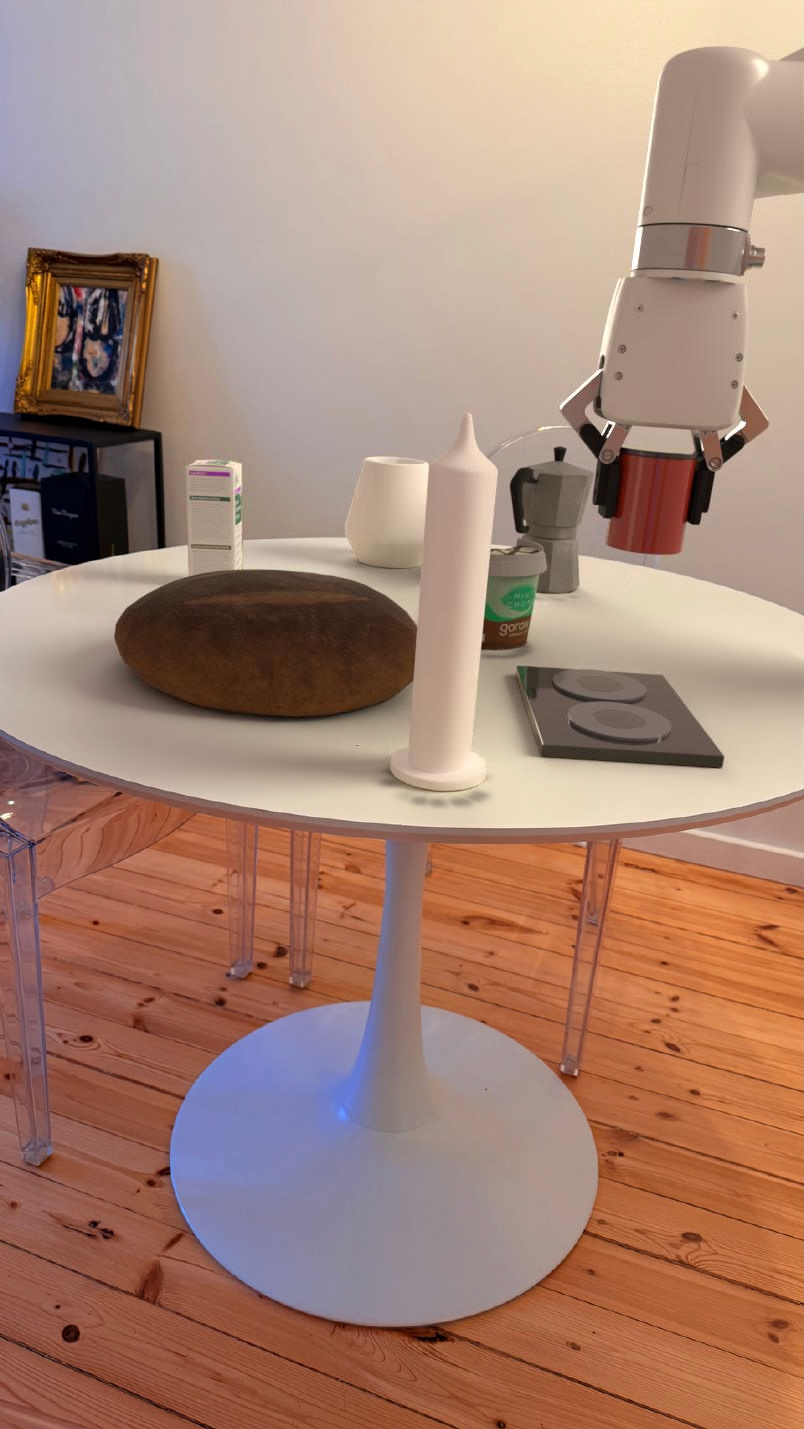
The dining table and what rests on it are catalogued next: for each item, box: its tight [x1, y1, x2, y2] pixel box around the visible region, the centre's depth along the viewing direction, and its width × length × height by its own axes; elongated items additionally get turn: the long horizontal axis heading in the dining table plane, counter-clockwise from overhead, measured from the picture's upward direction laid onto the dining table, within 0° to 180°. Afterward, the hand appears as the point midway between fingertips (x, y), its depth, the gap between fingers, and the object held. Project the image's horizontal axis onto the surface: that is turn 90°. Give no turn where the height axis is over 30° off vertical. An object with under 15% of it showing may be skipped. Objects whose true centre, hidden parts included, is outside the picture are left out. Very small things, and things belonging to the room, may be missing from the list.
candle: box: [389, 412, 499, 792], centre depth 67 cm, size 7×7×25 cm
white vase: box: [344, 456, 430, 569], centre depth 138 cm, size 13×13×14 cm
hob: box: [515, 665, 725, 769], centre depth 85 cm, size 14×20×1 cm
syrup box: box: [185, 459, 244, 577], centre depth 119 cm, size 6×6×14 cm
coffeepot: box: [509, 445, 595, 594], centre depth 128 cm, size 15×9×18 cm, turn 134°
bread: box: [113, 568, 417, 717], centre depth 90 cm, size 28×27×9 cm
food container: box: [481, 537, 547, 651], centre depth 103 cm, size 12×6×10 cm, turn 143°
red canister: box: [605, 443, 700, 556], centre depth 75 cm, size 6×6×7 cm
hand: (648, 516), depth 76 cm, fingers closed on red canister, 5 cm apart
